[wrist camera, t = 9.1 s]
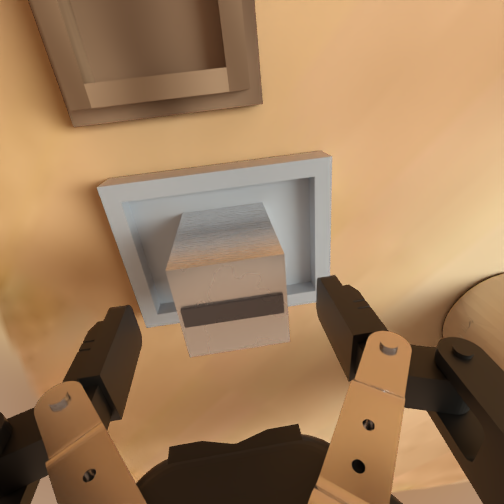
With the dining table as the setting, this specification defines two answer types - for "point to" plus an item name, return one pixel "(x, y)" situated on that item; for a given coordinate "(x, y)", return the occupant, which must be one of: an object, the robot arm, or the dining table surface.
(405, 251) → the dining table surface
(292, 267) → the tray
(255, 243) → the block
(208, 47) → the frame
